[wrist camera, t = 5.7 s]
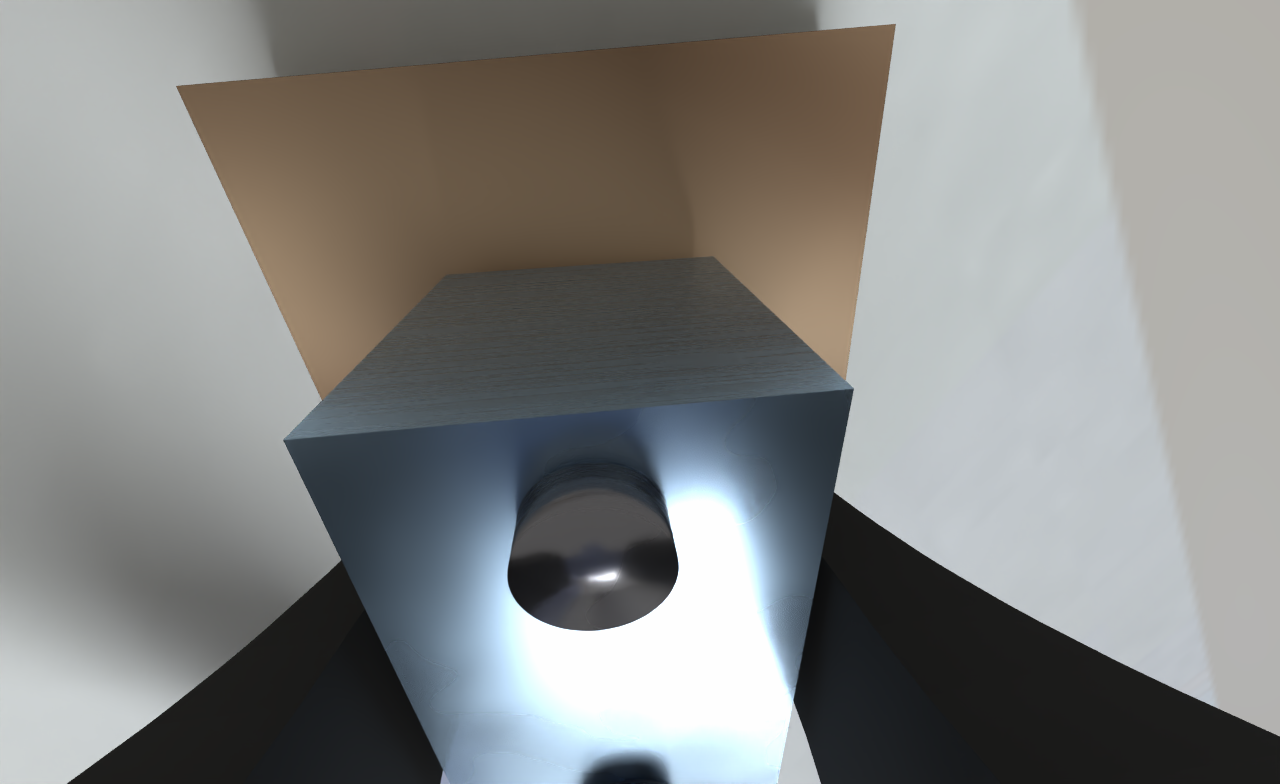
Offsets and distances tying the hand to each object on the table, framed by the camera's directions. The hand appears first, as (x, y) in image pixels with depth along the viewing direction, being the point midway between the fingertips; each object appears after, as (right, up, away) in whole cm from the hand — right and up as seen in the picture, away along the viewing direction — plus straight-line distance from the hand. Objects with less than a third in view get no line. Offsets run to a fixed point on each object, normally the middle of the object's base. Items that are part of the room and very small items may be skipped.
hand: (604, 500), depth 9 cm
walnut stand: (0, +2, +4) cm, 5 cm away
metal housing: (0, +1, +1) cm, 2 cm away
